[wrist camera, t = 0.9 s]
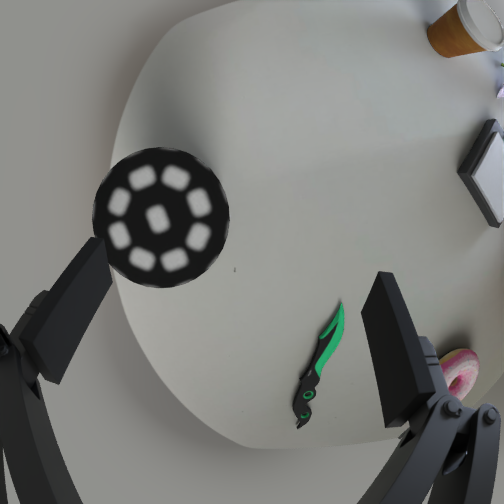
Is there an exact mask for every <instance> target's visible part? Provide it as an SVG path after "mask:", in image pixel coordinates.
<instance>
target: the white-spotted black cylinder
mask: <svg viewBox="0 0 504 504" xmlns="http://www.w3.org/2000/svg"><path fill="white" fill-rule="evenodd" d="M229 221H230V219H229V206H228V202H227V198H226V194H225V191H224V189H223V187H222V185H221V183H220V181H219V179H218V178H217V177H216V176H215V174H214V173H213V172H212V170H211V169H210V168H209V167H208V166H207V165H205V164H204V163H203V162H202V161H201V160H200V159H198V158H196V157H194V156H193V155H191V154H189V153H187V152H184V151H181V150H177V149H174V148H164V147H157V148H148V149H144V150H141V151H138V152H135V153H132V154H131V155H129V156H127V157H125V158H124V159H122V160H121V161H120V162H118V163H117V164H116V165H115V166H114V167H113V168H112V169H111V170H110V171H109V172H108V174H107V175H106V176H105V178H104V179H103V180H102V182H101V185H100V187H99V189H98V191H97V193H96V197H95V200H94V204H93V214H92V222H93V231H94V235H95V238H103V239H104V242H105V248H106V253H107V258H108V263H109V264H110V265H111V266H112V268H114V269H115V270H116V271H117V272H118V273H119V274H121V275H122V276H123V277H125V278H127V279H129V280H130V281H132V282H134V283H137V284H140V285H143V286H146V287H154V288H170V287H175V286H179V285H183V284H186V283H188V282H190V281H192V280H194V279H196V278H197V277H199V276H200V275H201V274H203V273H204V272H205V271H207V270H208V269H209V267H210V266H211V265H212V264H213V263H214V262H215V261H216V259H217V258H218V256H219V254H220V252H221V251H222V249H223V247H224V244H225V241H226V238H227V235H228V229H229Z"/></svg>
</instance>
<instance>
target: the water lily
mask: <svg viewBox="0 0 504 504" xmlns="http://www.w3.org/2000/svg"><path fill="white" fill-rule="evenodd" d="M501 66H503V67H504V64H503V63H502V64H501ZM503 96H504V85H503V86H502V88H501V89H500V91H499V93H498V95H497V97H498V98H500V97H503Z"/></svg>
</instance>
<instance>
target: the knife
mask: <svg viewBox="0 0 504 504" xmlns="http://www.w3.org/2000/svg"><path fill="white" fill-rule="evenodd" d="M343 330H344V309H343V306H342V303H341V305H340V308H339V310H338V312H337V314H336V316H335V318H334V319H333V321H332V322H331V323H330V325H329V326H328V327H327V329H326V330H325V331H324V332H323V334H322V335H320V336H319V340H318V345H317V348H316V351H315V354H314V356H313V358H312V361H311V363H310V365H309V367H308V369H307V370H306V372H305V373H304V375H303V376H302V377H301V378H299V379H300V381H301V384H300V386H299V389H298V391H297V393H296V396H295V398H294V402H293V411H294V413H295V415H296V417H297V418H298V420H299V421H300V423H299V424H298V426H297V429H299V428H300V427H302V426H303V425H305V424H306V423H307V422H308V421H309V419H310V417H311V414H312V412H311V409H310V407H307V406H306V404H307V402H309V401H310V400H312V399H313V398H314V397H315V396H316V390H315V386H316V385H317V384H318V383H319V381H320V375H321V371H322V368H323V366H324V365H325V363H326V362H327V360H328V359H329V357H330V356H331V355H332V353H333V352H334V351H335V349H336V347H337V346H338V344H339V342H340V340H341V337H342V334H343ZM306 392H311V394H310V395H309V396H305V393H306ZM305 412H307V414H306V415H304V416H302V413H305Z"/></svg>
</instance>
